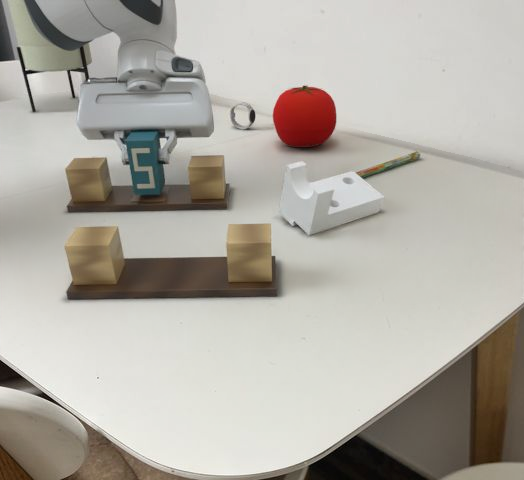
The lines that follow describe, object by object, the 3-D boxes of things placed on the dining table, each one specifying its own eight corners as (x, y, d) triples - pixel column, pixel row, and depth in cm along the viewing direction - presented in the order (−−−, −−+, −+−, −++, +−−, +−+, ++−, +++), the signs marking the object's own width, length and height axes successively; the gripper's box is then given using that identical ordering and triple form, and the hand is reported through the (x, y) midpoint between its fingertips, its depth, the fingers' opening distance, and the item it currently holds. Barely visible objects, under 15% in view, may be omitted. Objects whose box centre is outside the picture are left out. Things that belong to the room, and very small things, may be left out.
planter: (104, 96, 144) (85, -12, 130) (93, 113, 131) (71, -4, 117) (43, 98, 143) (18, -9, 129) (26, 115, 130) (-4, -2, 116)
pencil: (348, 184, 92) (420, 158, 101) (349, 177, 91) (421, 152, 100) (343, 181, 93) (415, 157, 101) (343, 175, 92) (415, 150, 101)
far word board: (68, 212, 85) (58, 172, 82) (81, 192, 92) (73, 154, 88) (227, 209, 85) (224, 169, 81) (230, 189, 91) (227, 151, 88)
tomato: (317, 132, 115) (319, 76, 109) (346, 149, 106) (350, 89, 100) (263, 140, 111) (261, 83, 105) (287, 158, 103) (288, 96, 96)
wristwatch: (250, 131, 117) (249, 105, 114) (229, 128, 118) (227, 103, 116) (256, 127, 119) (256, 102, 116) (235, 125, 121) (234, 100, 118)
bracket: (307, 240, 78) (318, 193, 72) (278, 212, 82) (286, 165, 76) (377, 217, 84) (392, 172, 78) (347, 191, 87) (359, 146, 82)
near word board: (67, 299, 65) (55, 252, 62) (85, 265, 72) (75, 221, 68) (276, 296, 65) (276, 248, 61) (275, 262, 71) (275, 217, 68)
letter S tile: (134, 195, 85) (124, 141, 80) (140, 183, 89) (131, 130, 85) (160, 195, 85) (152, 140, 80) (165, 182, 89) (158, 129, 85)
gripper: (71, 65, 83) (68, 154, 81) (211, 62, 83) (211, 151, 81) (86, 90, 90) (83, 173, 88) (215, 87, 89) (215, 171, 87)
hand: (145, 163), depth 84 cm, fingers closed on letter S tile, 4 cm apart
